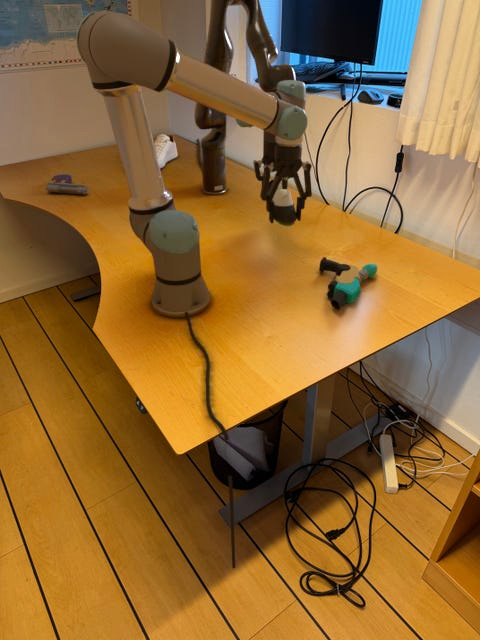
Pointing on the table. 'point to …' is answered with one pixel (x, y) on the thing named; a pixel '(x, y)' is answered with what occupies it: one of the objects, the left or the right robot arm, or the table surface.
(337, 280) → the toy gun
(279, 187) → the ballet flat
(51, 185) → the toy gun
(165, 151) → the sneaker
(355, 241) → the table surface
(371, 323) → the table surface
